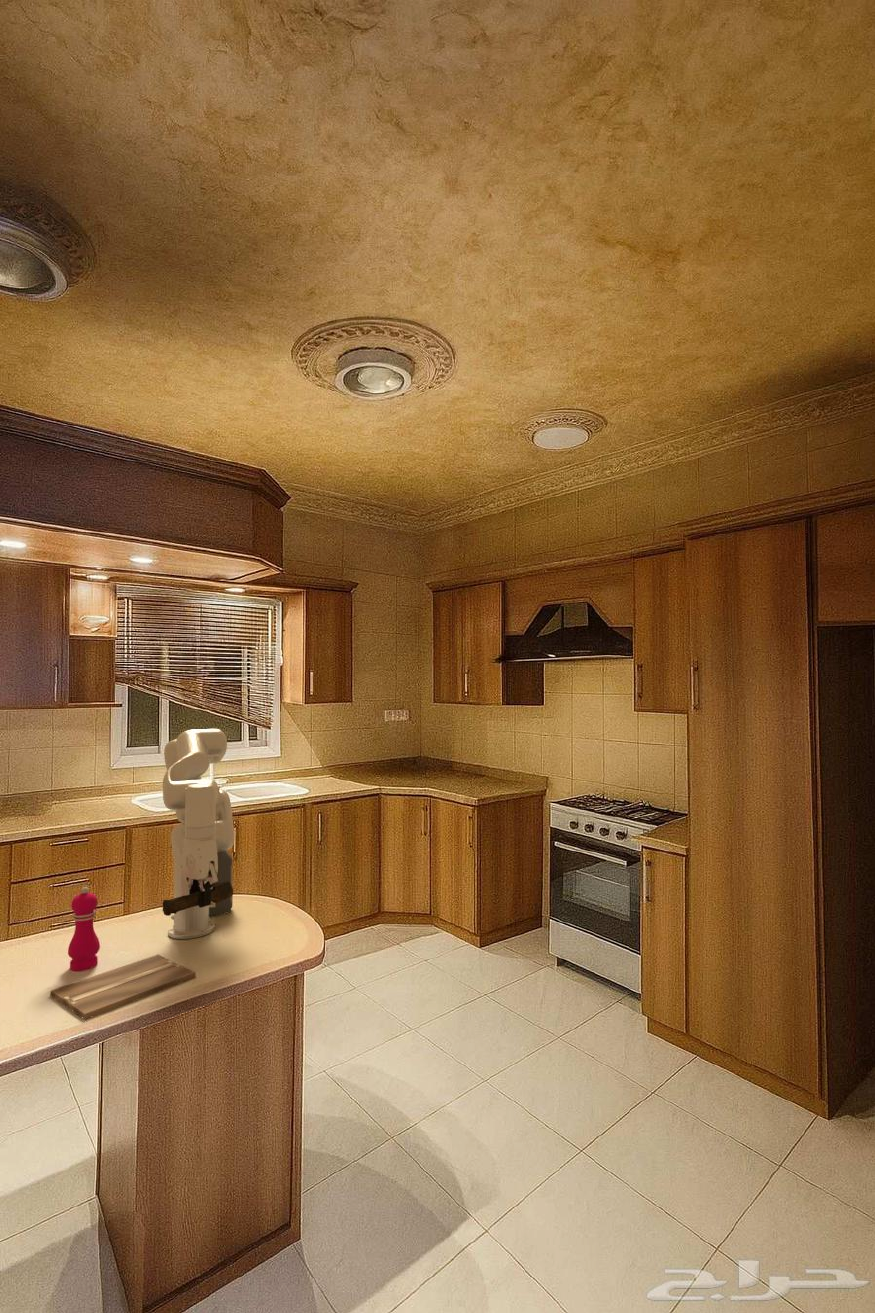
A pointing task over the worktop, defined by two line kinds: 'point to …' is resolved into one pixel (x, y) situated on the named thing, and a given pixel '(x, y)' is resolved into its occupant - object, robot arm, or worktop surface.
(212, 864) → the robot arm
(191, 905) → the hand tool
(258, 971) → the worktop surface
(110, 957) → the worktop surface
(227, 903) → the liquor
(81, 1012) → the board
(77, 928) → the pepper mill
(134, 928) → the worktop surface
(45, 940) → the worktop surface
